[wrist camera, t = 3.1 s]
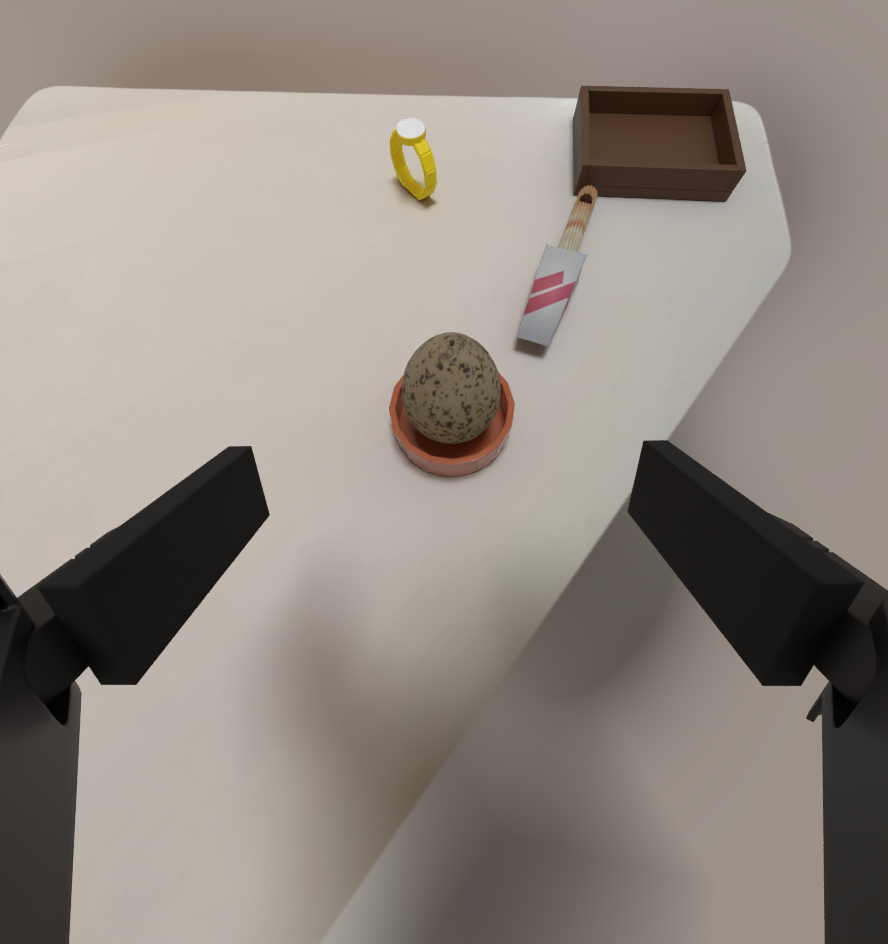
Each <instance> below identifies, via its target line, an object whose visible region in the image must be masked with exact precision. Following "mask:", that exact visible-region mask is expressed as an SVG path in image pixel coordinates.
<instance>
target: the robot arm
mask: <svg viewBox="0 0 888 944" xmlns="http://www.w3.org/2000/svg"><path fill="white" fill-rule="evenodd" d="M628 513H629V514H630V516H631V517H632V518H633V519H634V521H635V522H636V523H637V524H638V526H639V527H640V528H641V530H642V531H643V532H644V534H645V535H646V536H647V537H648V539H649V540H650V541H651V543H652V544H653V545H654V546H655V548H656V549H657V550H658V552H659V553H660V554H661V555H662V557H663V558H664V559H665V561H666V562H667V563H668V564H669V566H670V567H671V568H672V569H673V571H674V572H675V573H676V575H677V576H678V577H679V579H680V580H681V581H682V582H683V584H684V585H685V586H686V588H687V589H688V590H689V591H690V593H691V594H692V595H693V597H694V598H695V599H696V601H697V602H698V603H699V604H700V606H701V607H702V608H703V609H704V611H705V612H706V613H707V615H708V616H709V617H710V618H711V620H712V621H713V622H714V624H715V625H716V626H717V628H718V629H719V630H720V631H721V633H722V634H723V635H724V637H725V638H726V639H727V640H728V642H729V643H730V644H731V645H732V647H733V648H734V649H735V651H736V652H737V653H738V654H739V656H740V657H741V658H742V660H743V661H744V662H745V664H746V665H747V666H748V667H749V669H750V670H751V671H752V673H753V674H754V675H755V676H756V678H757V679H758V680H759V682H760V683H761V684H762V685H763V686H801V685H802V683H803V682H804V680H805V678H806V677H807V675H808V674H809V672H810V670H811V669H812V667H813V665H814V666H815V667H816V668H817V669H818V670H819V671H820V672H821V673H822V674H823V675H824V676H825V677H826V678H827V679H828V680H829V682H828V684H827V685H826V687H825V688H824V690H823V691H822V693H821V694H820V696H819V697H818V699H817V700H816V702H815V703H814V705H813V706H812V708H811V709H810V711H809V713H808V715H807V718H806V719H808V720H810V721H812V722H814V720H815V719H816V718H817V716H818V715H821V714H822V745H823V746H822V747H823V749H822V750H823V751H822V752H823V830H824V831H823V834H824V909H825V910H824V913H825V914H824V915H825V916H824V918H825V944H888V590H886V589H885V588H883V587H882V586H880V585H879V584H878V583H876V582H875V581H873V580H872V579H870V578H869V577H868V576H866V575H865V574H863V573H862V572H860V571H859V570H858V569H856V568H855V567H853V566H852V565H850V564H849V563H847V562H846V561H845V560H843V559H842V558H841V557H839V556H837V555H836V554H835V553H833V552H831V553H830V552H829V549H828V548H826V547H825V546H823V545H822V544H820V543H819V542H818V541H813V538H812V537H811V536H809V535H808V534H806V533H805V532H803V531H802V530H800V529H799V528H798V527H796V526H795V525H793V524H791V523H789V522H787V521H785V520H783V519H780V518H778V517H776V516H774V515H771V514H770V513H767V512H766V511H764V510H763V509H761V508H760V507H759V506H757V505H756V504H755V503H753V502H752V501H751V500H749V499H748V498H746V497H745V496H744V495H742V494H741V493H739V492H738V491H737V490H735V489H734V488H732V487H731V486H729V485H728V484H727V483H726V482H724V481H723V480H721V479H720V478H718V477H717V476H716V475H714V474H713V473H711V472H710V471H709V470H707V469H706V468H704V467H703V466H702V465H701V464H699V463H698V462H696V461H695V460H694V459H692V458H691V457H689V456H688V455H687V454H685V453H684V452H683V451H681V450H680V449H678V448H677V447H676V446H674V445H673V444H671V443H670V442H669V441H667V440H660V441H643V446H642V450H641V454H640V459H639V463H638V468H637V472H636V476H635V481H634V485H633V489H632V494H631V499H630V503H629V507H628ZM269 515H270V514H269V511H268V507H267V503H266V500H265V496H264V492H263V488H262V485H261V481H260V477H259V473H258V470H257V466H256V462H255V459H254V455H253V451H252V447H251V446H232V447H228V448H226V449H225V450H223V451H222V452H221V453H219V454H218V455H217V456H215V457H214V458H213V459H211V460H210V461H208V462H207V463H206V464H204V465H203V466H202V467H200V468H199V469H197V470H196V471H195V472H193V473H192V474H191V475H189V476H188V477H186V478H185V479H184V480H182V481H181V482H180V483H178V484H177V485H176V486H174V487H173V488H171V489H170V490H169V491H167V492H166V493H165V494H163V495H162V496H160V497H159V498H158V499H156V500H155V501H154V502H152V503H151V504H149V505H148V506H147V507H145V508H144V509H143V510H141V511H140V512H139V513H137V514H136V515H134V516H133V517H132V518H130V519H129V520H128V521H126V522H125V523H123V524H122V525H121V526H119V527H117V528H115V529H113V530H111V531H109V532H108V533H106V534H105V535H104V536H102V537H101V538H99V539H98V540H97V541H95V542H94V543H92V544H91V545H90V548H86V549H84V550H83V551H81V552H80V553H79V554H77V555H76V556H75V559H70V560H69V561H68V562H66V563H65V564H63V565H62V566H61V567H59V568H58V569H56V570H55V571H54V572H52V573H51V574H50V575H48V576H47V577H45V578H44V579H43V580H41V581H40V582H39V583H37V584H36V585H34V586H33V587H32V588H30V589H29V590H27V591H26V592H25V593H23V594H22V595H21V596H19V597H18V598H17V597H16V596H15V595H14V593H13V592H12V590H11V589H10V587H9V586H8V585H7V583H6V582H5V580H4V579H3V577H2V576H1V575H0V944H69V932H70V912H71V892H72V872H73V852H74V832H75V812H76V793H77V773H78V753H79V733H80V713H81V691H80V688H79V686H78V685H77V683H76V682H75V680H76V679H77V678H78V677H79V676H80V675H81V674H82V673H83V671H84V670H85V669H86V668H87V667H88V666H89V667H90V669H91V670H92V672H93V673H94V675H95V676H96V678H97V679H98V681H99V682H100V684H101V685H136V684H137V683H138V682H139V681H140V679H141V678H142V677H143V675H144V674H145V673H146V672H147V670H148V669H149V668H150V667H151V665H152V664H153V663H154V661H155V660H156V659H157V658H158V656H159V655H160V654H161V653H162V651H163V650H164V649H165V647H166V646H167V645H168V644H169V642H170V641H171V640H172V639H173V637H174V636H175V635H176V633H177V632H178V631H179V630H180V628H181V627H182V626H183V625H184V623H185V622H186V621H187V620H188V618H189V617H190V616H191V614H192V613H193V612H194V611H195V609H196V608H197V607H198V606H199V604H200V603H201V602H202V600H203V599H204V598H205V597H206V595H207V594H208V593H209V592H210V590H211V589H212V588H213V586H214V585H215V584H216V583H217V581H218V580H219V579H220V578H221V576H222V575H223V574H224V572H225V571H226V570H227V569H228V567H229V566H230V565H231V564H232V562H233V561H234V560H235V558H236V557H237V556H238V555H239V553H240V552H241V551H242V550H243V548H244V547H245V546H246V544H247V543H248V542H249V541H250V539H251V538H252V537H253V536H254V534H255V533H256V532H257V530H258V529H259V528H260V527H261V525H262V524H263V523H264V522H265V520H266V519H267V518H268V516H269Z"/></svg>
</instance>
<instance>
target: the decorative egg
mask: <svg viewBox="0 0 888 944" xmlns="http://www.w3.org/2000/svg"><path fill="white" fill-rule="evenodd" d="M500 395H501V385H500V378H499V374H498V371H497V368H496V366H495V363H494V361H493V360H492V358H491V356H490V355H489V353H488V352H487V351H486V350H485V348H484V347H483V346H481V345H480V344H479V343H478V342H477V341H475V340H474V339H472V338H470V337H468V336H466V335H464V334H460V333H451V332H450V333H443V334H440V335H436V336H434V337H432V338H430V339H429V340H427V341H426V342H425V343H423V344H422V345H421V346H420V347H419V348H418V349H417V350H416V351H415V353H414V354H413V355H412V357H411V359H410V360H409V362H408V364H407V367H406V369H405V372H404V376H403V381H402V399H403V404H404V408H405V411H406V413H407V415H408V418H409V419H410V421H411V422H412V424H413V425H414V427H415V428H416V429H417V430H418V431H419V432H420V433H422V434H423V435H424V436H426V437H428V438H429V439H431V440H434V441H436V442H440V443H445V444H459V443H464V442H467V441H469V440H472V439H474V438H475V437H477V436H479V435H480V434H481V433H482V432H483V431H484V430H485V429H486V428H487V427H488V426H489V425H490V423H491V422H492V421H493V419H494V417H495V415H496V413H497V410H498V407H499V403H500Z"/></svg>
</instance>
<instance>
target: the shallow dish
mask: <svg viewBox="0 0 888 944" xmlns="http://www.w3.org/2000/svg"><path fill="white" fill-rule="evenodd" d="M498 374H499V372H498ZM403 376H404V375H403ZM403 376H402V378H401V379H400V380H399V382H398V383H397V384H396V386H395V387H394V390H393V394H392V398H391V402H390V407H389V411H390V416H391V421H392V426H393V431H394V433H395V436H396V439H397V441H398V443H399V445H400V446H401V448H402V450H403V451H404V453H405V454H406V455H407V456H408V458H409V459H410V460H411V461H412V462H413V463H415V464H416V465H417V466H419V467H420V468H422V469H424V470H426V471H428V472H431V473H434V474H437V475H442V476H461V475H466V474H470V473H473V472H475V471H478V470H480V469H482V468H483V467H485V466H486V465H488V464H489V463H490V462H492V461H493V460H494V459H495V458H496V456H497V455H498V454H499V453H500V451H501V450H502V448H503V446H504V444H505V442H506V440H507V439H508V436H509V433H510V430H511V426H512V420H513V413H514V401H513V398H512V394H511V391H510V388H509V385H508V383H507V382H506V380H505V379H504V378H503V377H502V376H501V375H500V374H499V378H500V385H501V395H500V403H499V407H498V410H497V413H496V415H495V417H494V419H493V421H492V422H491V423H490V425H489V426H488V427H487V428H486V429H485V430H484V431H483V432H482V433H481V434H480V435H479V436H477V437H475V438H474V439H472V440H469V441H467V442H464V443H459V444H445V443H440V442H436V441H434V440H431V439H429V438H428V437H426V436H424V435H423V434H422V433H420V432H419V431H418V430H417V429H416V428H415V427H414V425H413V424H412V422H411V421H410V419H409V418H408V415H407V413H406V411H405V408H404V404H403V399H402V381H403Z"/></svg>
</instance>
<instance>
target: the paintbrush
mask: <svg viewBox="0 0 888 944" xmlns="http://www.w3.org/2000/svg"><path fill="white" fill-rule="evenodd" d="M597 195H598V193H597V190H596V189H595V187H593V186H592V185H591V186H589V185H588V186H587V187H586V186H585V187H584V188H582V189H581V191H580V192H579V194H578V197H577V200H576V203H575V205H574V208H573V211H572V213H571V216H570V219H569V221H568V224H567V227H566V229H565V232H564V234H563V237H562V239H561V242H560V245H559V247H554V246H550V245H546V247H545V250H544V253H543V256H542V259H541V262H540V266H539V269H538V272H537V275H536V278H535V281H534V284H533V288H532V291H531V294H530V297H529V300H528V303H527V306H526V310H525V313H524V316H523V319H522V322H521V325H520V329H519V332H518V335H517V337H518V338H521V339H525V340H528V341H532V342H535V343H539V344H542V345H545V346H548V345H549V343H550V341H551V338H552V336H553V334H554V332H555V330H556V328H557V325H558V323H559V321H560V319H561V317H562V314H563V312H564V310H565V308H566V306H567V304H568V301H569V299H570V297H571V295H572V293H573V291H574V288H575V286H576V284H577V282H578V279H579V276H580V272H581V269H582V266H583V264H584V261H585V259H586V256H587V255H586V254H582V253H578V252H577V251H578V248H579V246H580V243H581V240H582V237H583V234H584V232H585V229H586V226H587V223H588V220H589V217H590V215H591V212H592V209H593V207H594V204H595V201H596V199H597Z"/></svg>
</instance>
